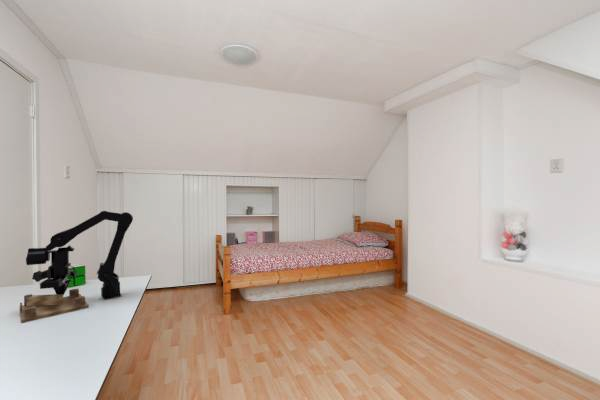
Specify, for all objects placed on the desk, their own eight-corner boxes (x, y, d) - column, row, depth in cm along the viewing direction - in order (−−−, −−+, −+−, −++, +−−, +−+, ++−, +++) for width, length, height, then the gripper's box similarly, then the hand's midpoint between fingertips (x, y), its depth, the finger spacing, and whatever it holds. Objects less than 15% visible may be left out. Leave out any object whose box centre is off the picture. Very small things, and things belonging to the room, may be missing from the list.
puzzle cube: (79, 281, 158) (78, 263, 158) (85, 284, 152) (85, 265, 152) (55, 285, 150) (55, 266, 150) (62, 289, 144) (61, 269, 144)
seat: (80, 296, 132) (80, 287, 132) (88, 307, 118) (88, 297, 118) (19, 308, 118) (19, 298, 118) (21, 323, 104) (21, 311, 104)
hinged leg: (21, 306, 116) (21, 296, 116) (28, 303, 119) (28, 294, 119) (57, 305, 118) (57, 295, 118) (63, 302, 121) (63, 292, 121)
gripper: (48, 259, 128) (48, 293, 128) (23, 268, 111) (23, 309, 111) (77, 257, 132) (77, 291, 132) (58, 266, 114) (58, 305, 114)
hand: (60, 298), depth 122 cm, fingers closed
